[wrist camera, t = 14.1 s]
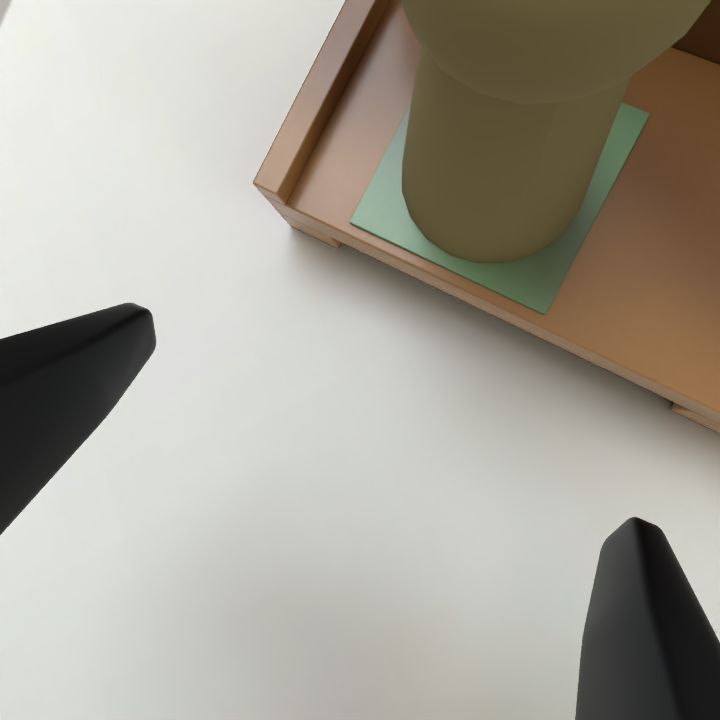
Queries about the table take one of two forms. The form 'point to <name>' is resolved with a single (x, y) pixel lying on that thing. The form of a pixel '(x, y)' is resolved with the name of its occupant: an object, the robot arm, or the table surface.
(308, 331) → the table surface
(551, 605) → the table surface
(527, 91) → the olive pawn
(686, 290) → the shelf
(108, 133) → the table surface
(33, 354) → the robot arm
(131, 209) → the table surface
